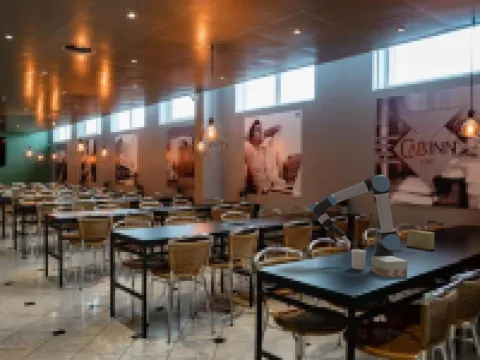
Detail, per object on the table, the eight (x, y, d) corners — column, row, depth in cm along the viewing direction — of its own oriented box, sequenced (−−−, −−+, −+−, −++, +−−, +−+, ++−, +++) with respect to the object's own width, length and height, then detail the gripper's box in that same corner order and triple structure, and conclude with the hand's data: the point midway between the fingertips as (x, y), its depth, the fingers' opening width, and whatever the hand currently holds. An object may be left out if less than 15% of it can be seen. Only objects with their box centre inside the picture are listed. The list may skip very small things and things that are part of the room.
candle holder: (347, 267, 285) (348, 249, 285) (359, 266, 289) (359, 248, 289) (357, 270, 276) (357, 252, 276) (368, 269, 280) (369, 251, 280)
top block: (391, 263, 279) (392, 255, 279) (407, 268, 264) (407, 261, 264) (371, 264, 275) (371, 256, 275) (385, 269, 259) (385, 261, 259)
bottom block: (391, 270, 279) (391, 263, 279) (407, 276, 264) (407, 268, 264) (370, 271, 275) (371, 264, 275) (385, 277, 260) (385, 269, 260)
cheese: (404, 246, 373) (405, 229, 372) (409, 245, 379) (410, 229, 379) (429, 250, 356) (430, 232, 356) (434, 249, 363) (435, 232, 363)
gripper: (330, 223, 309) (348, 245, 300) (313, 225, 290) (332, 250, 281) (337, 216, 306) (355, 239, 297) (320, 219, 287) (340, 243, 278)
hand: (344, 244), depth 289 cm, fingers open, 13 cm apart
